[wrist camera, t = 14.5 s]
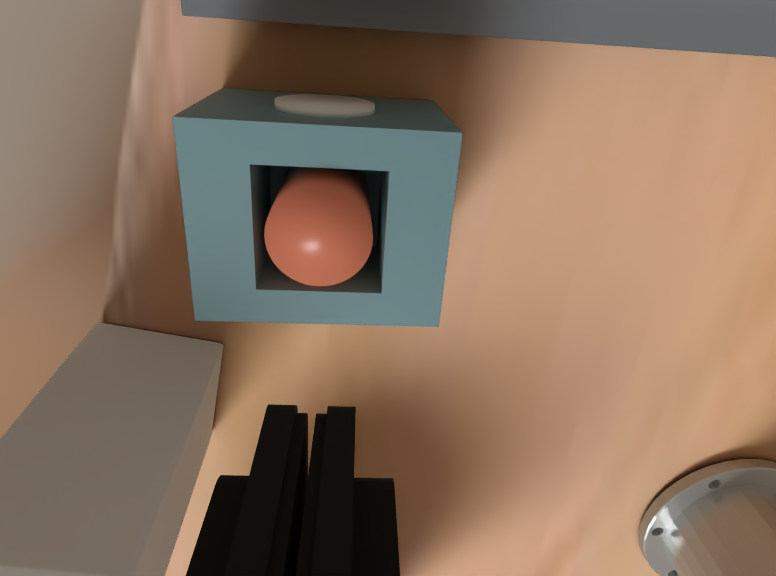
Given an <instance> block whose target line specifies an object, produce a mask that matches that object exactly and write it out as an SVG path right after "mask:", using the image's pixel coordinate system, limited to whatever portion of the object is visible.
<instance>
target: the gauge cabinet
mask: <svg viewBox="0 0 776 576" xmlns="http://www.w3.org/2000/svg"><path fill="white" fill-rule="evenodd" d="M173 125H174V134H175V144H176V153H177V162H178V171H179V180H180V189H181V198H182V207H183V216H184V226H185V235H186V244H187V253H188V262H189V271H190V280H191V289H192V299H193V308H194V317H195V321H228V322H267V323H307V324H346V325H386V326H425V327H439V321H440V312H441V304H442V296H443V288H444V280H445V272H446V264H447V256H448V248H449V240H450V231H451V223H452V215H453V207H454V199H455V191H456V183H457V175H458V167H459V159H460V150H461V142H462V134H463V133H462V132H461V130H460V129H459V128H458V127H457V126H456V125H455V124H454V123H453V122H452V121H451V120H450V119H449V118H448V116H447V115H446V114H445V113H444V112H443V111H442V110H441V109H440V108H439V107H438V106H437V105H436V104H435V102H434V101H432V100H415V99H398V98H381V97H365V96H348V95H331V94H315V93H298V92H281V91H264V90H248V89H231V88H222V89H220V90H218V91H217V92H215V93H213V94H211V95H210V96H208V97H206V98H204V99H203V100H201V101H199V102H197V103H196V104H194V105H192V106H190V107H189V108H187V109H185V110H184V111H182V112H180V113H178V114H177V115H175V116H173ZM292 166H294V167H314V168H335V169H355V170H359V171H360V172H361V173H362V175H363V176H364V178H365V180H366V183H367V186H368V190H369V199H370V210H371V220H372V231H373V243H372V249H371V252H370V255H369V257H368V259H367V261H366V263H365V264H364V266H363V267H362V268H361V269H360V270H359V271H358V272H357V273H356V274H355V275H354V276H352V277H351V278H349V279H347V280H346V281H343V282H341V283H338V284H335V285H330V286H311V285H306V284H303V283H300V282H297V281H295V280H293V279H291V278H290V277H288V276H287V275H285V274H284V273H283V272H282V271H281V270H280V269H279V268H278V267H277V266H276V265H275V264H274V262H273V261H272V259H271V257H270V256H269V253H268V251H267V248H266V244H265V237H264V233H265V224H266V221H267V218H268V215H269V213H270V210H271V208H272V205H273V203H274V201H275V198H276V196H277V193H278V191H279V189H280V186H281V184H282V181H283V179H284V177H285V175H286V173H287V172H288V170H289V169H290V168H291V167H292Z"/></svg>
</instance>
